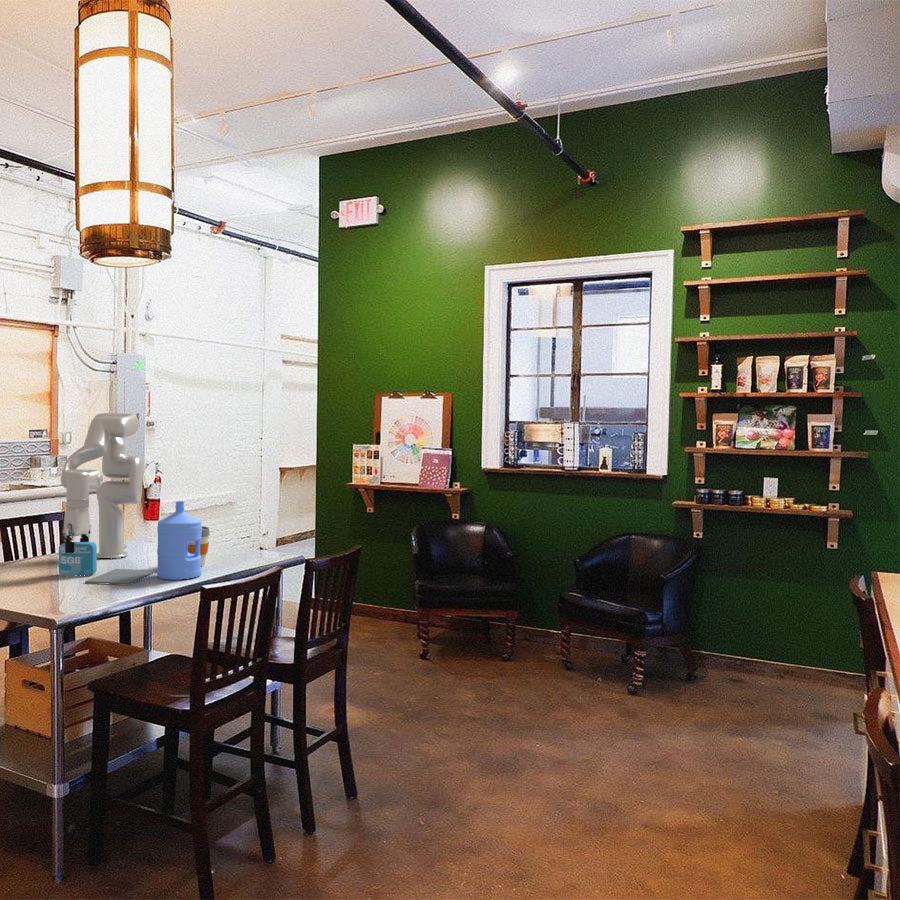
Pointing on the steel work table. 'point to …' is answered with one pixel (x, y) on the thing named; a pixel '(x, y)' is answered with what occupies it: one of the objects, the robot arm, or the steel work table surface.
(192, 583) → the steel work table surface
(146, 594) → the steel work table surface
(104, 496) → the robot arm
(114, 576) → the mat
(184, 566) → the water jug
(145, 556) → the steel work table surface
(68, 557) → the data package
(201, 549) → the reusable coffee cup
